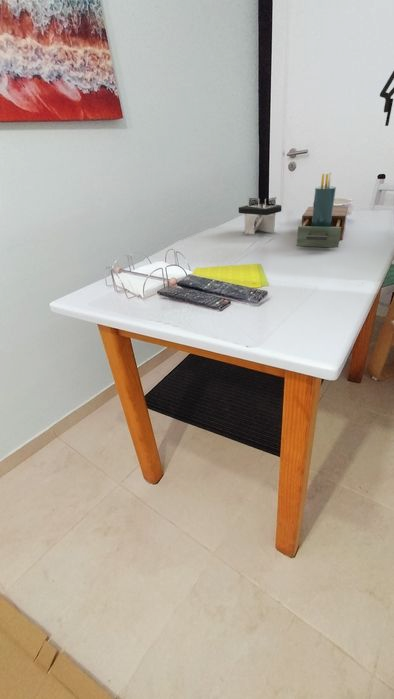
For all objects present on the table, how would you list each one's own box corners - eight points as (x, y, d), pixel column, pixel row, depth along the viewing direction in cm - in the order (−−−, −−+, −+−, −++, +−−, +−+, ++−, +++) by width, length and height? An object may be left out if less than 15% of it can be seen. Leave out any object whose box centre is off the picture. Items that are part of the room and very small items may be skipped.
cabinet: (342, 240, 114) (345, 215, 110) (300, 238, 119) (302, 215, 115) (344, 228, 126) (348, 206, 122) (306, 228, 131) (308, 206, 127)
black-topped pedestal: (210, 236, 133) (208, 200, 126) (257, 223, 146) (257, 190, 139) (263, 248, 114) (264, 206, 107) (311, 232, 126) (315, 194, 119)
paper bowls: (351, 225, 129) (354, 203, 125) (309, 225, 134) (311, 204, 130) (351, 217, 141) (354, 196, 136) (312, 217, 146) (315, 197, 141)
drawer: (337, 251, 101) (340, 231, 98) (294, 249, 106) (295, 230, 103) (341, 235, 115) (343, 217, 112) (303, 234, 120) (304, 217, 117)
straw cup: (330, 235, 113) (338, 170, 102) (328, 239, 108) (337, 173, 98) (311, 234, 115) (318, 171, 105) (309, 239, 110) (315, 173, 100)
